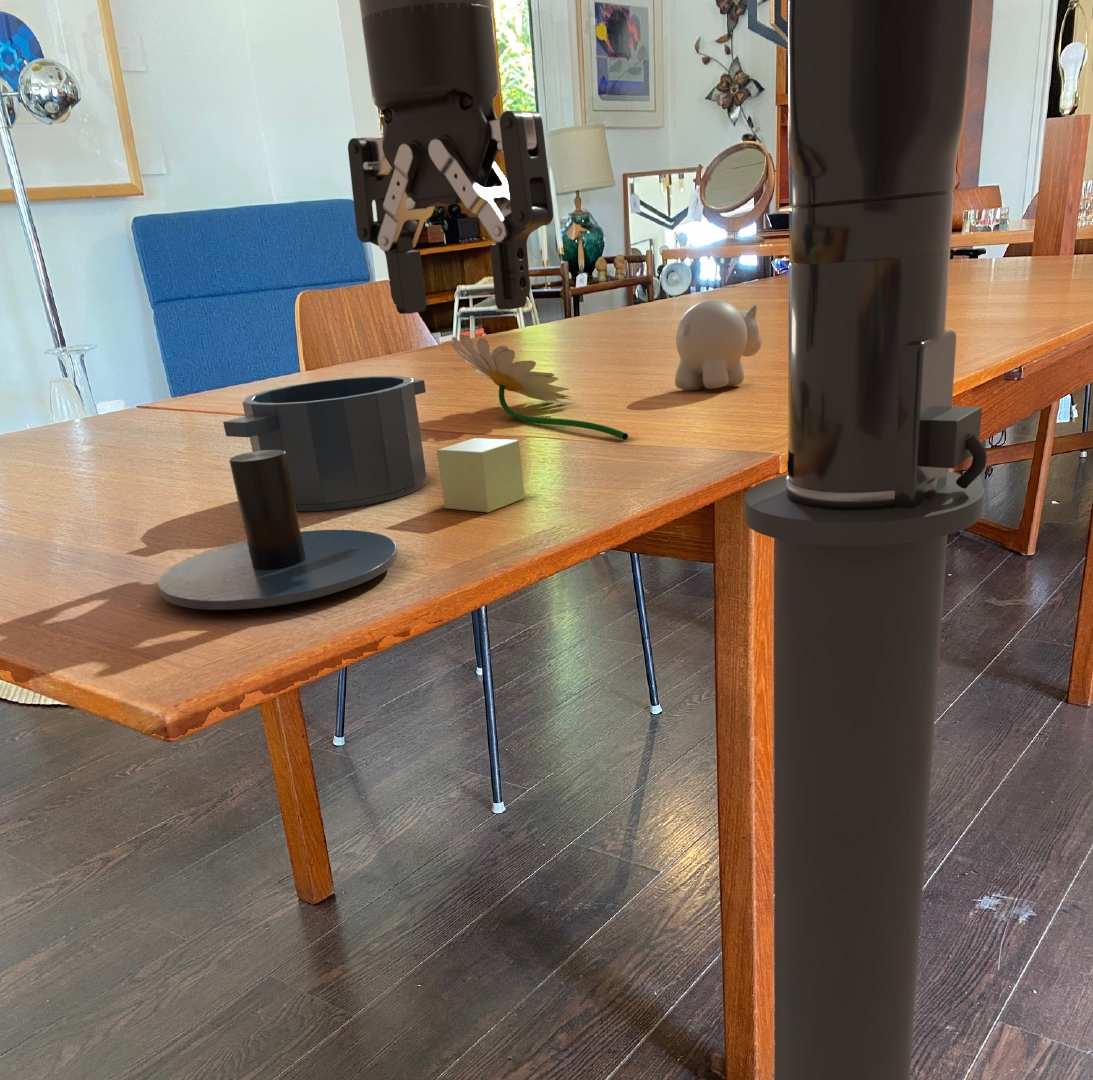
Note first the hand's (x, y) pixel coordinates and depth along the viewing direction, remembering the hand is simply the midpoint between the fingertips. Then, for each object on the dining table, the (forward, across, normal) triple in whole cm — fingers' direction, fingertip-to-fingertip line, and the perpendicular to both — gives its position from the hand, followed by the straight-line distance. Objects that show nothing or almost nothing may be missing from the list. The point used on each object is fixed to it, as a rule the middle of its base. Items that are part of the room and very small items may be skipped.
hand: (460, 310), depth 68 cm
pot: (+13, +14, 0) cm, 19 cm away
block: (+12, 0, 0) cm, 13 cm away
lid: (+12, 0, +18) cm, 21 cm away
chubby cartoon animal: (+13, +8, -49) cm, 51 cm away
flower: (+13, +16, -27) cm, 34 cm away
